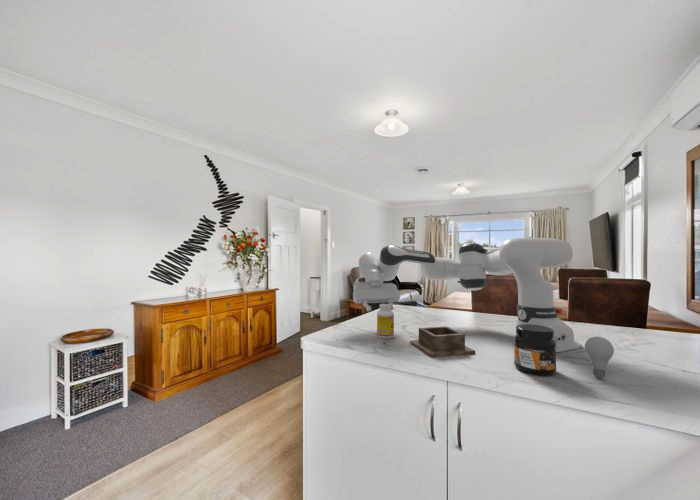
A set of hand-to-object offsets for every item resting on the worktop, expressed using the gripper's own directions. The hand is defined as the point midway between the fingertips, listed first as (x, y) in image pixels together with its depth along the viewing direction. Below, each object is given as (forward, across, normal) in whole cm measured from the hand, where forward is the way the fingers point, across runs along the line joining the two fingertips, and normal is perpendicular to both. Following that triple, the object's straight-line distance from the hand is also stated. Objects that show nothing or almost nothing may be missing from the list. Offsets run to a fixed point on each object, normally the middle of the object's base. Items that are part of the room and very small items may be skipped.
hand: (380, 310), depth 127 cm
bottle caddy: (+23, -14, +9) cm, 29 cm away
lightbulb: (+46, -42, +33) cm, 71 cm away
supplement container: (+40, -30, +26) cm, 57 cm away
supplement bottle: (+10, 0, -4) cm, 11 cm away
